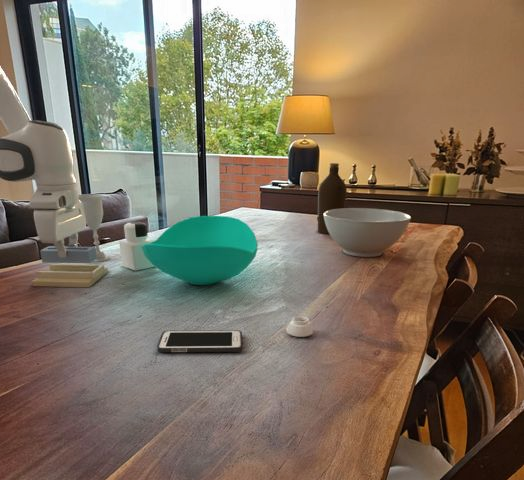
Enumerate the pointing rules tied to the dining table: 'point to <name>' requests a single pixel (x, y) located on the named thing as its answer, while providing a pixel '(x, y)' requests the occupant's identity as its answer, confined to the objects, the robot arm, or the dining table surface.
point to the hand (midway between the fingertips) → (68, 253)
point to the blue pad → (69, 255)
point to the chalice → (94, 218)
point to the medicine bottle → (135, 246)
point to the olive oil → (330, 196)
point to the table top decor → (203, 249)
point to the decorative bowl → (365, 229)
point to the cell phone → (201, 341)
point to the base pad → (70, 275)
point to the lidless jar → (299, 327)
